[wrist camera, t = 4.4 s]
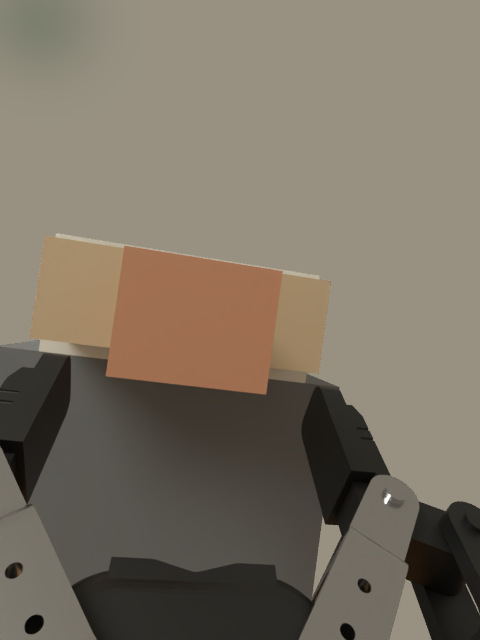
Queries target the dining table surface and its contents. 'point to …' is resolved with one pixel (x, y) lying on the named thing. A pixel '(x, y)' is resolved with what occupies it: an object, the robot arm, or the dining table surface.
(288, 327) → the tray
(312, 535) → the pedestal
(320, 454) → the robot arm
